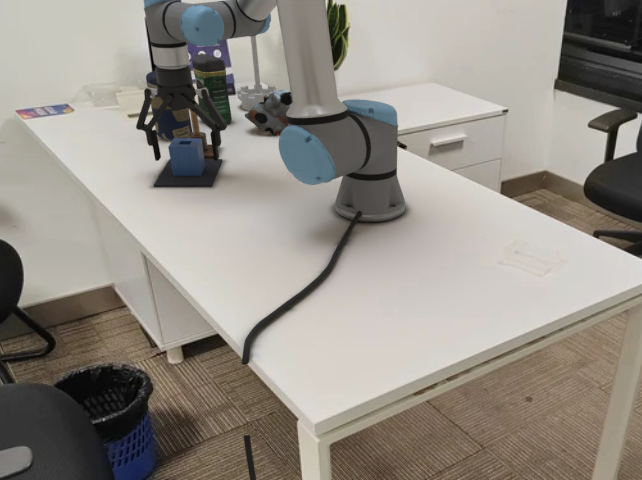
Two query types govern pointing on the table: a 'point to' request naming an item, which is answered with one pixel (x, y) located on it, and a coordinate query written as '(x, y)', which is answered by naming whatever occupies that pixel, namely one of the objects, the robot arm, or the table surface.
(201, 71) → the coffee jar
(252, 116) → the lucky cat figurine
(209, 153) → the stand
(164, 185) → the mat
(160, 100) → the canister
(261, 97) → the flag stand
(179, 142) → the block
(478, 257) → the table surface
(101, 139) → the table surface
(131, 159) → the table surface
